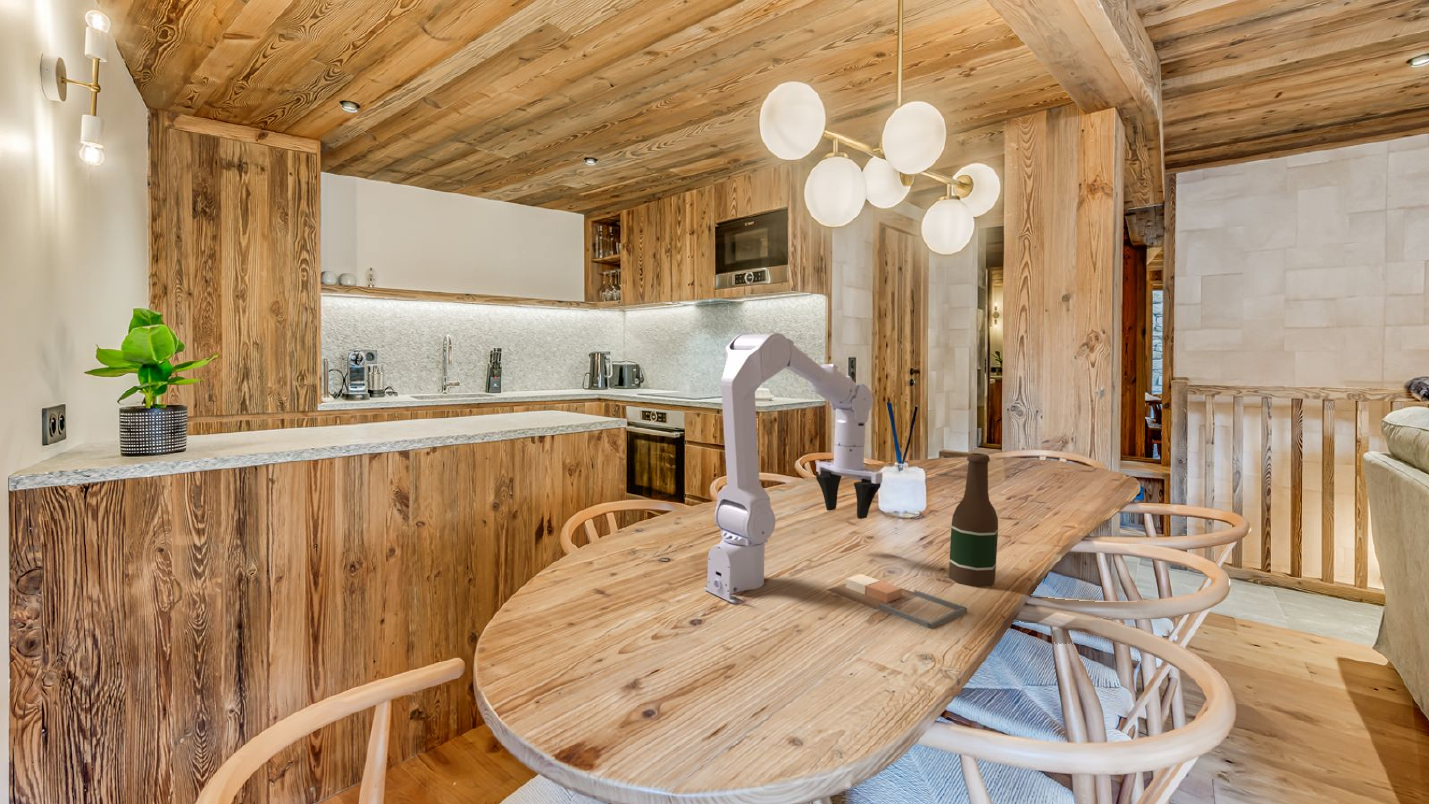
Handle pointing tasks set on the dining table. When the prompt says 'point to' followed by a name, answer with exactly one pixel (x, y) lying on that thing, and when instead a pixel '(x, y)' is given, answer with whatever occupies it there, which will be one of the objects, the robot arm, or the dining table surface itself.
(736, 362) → the robot arm
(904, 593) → the walnut board
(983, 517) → the beer bottle
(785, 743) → the dining table surface
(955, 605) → the tray
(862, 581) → the offwhite tile
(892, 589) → the terracotta tile
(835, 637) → the dining table surface
